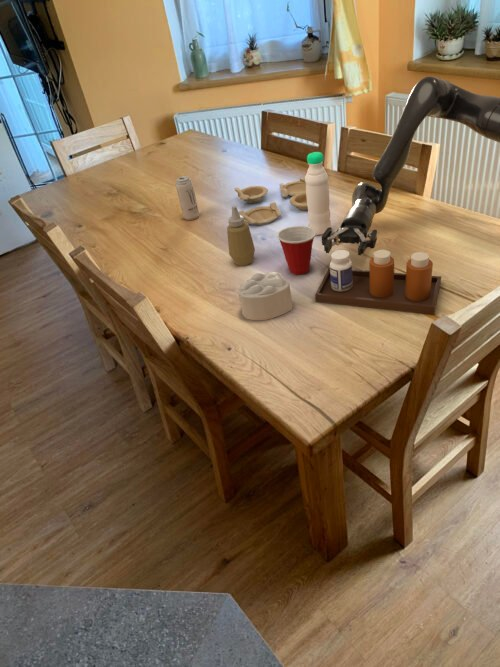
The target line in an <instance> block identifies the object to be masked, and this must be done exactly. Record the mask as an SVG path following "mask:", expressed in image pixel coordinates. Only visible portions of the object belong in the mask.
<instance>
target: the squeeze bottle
mask: <svg viewBox="0 0 500 667" xmlns="http://www.w3.org/2000/svg"><path fill="white" fill-rule="evenodd" d="M226 232H227V233H226V234H227V242H228V243H227V244H228V254H229V256H230V258H231V260H232V261H233V263H234V265H237V266H247V265H249V264H251V263H252V262H253V261H254V257H255V251H256V247H255V244H254V241H253V237H252V233H251V229H250V225H249V224H248V223H246V222H245V221H244V217H243V216H241V215H239V211H238V208H237V206H236V205H233V206H231V216H230V217H229V218H228V225H227V226H226Z"/></svg>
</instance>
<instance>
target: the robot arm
mask: <svg viewBox="0 0 500 667" xmlns="http://www.w3.org/2000/svg"><path fill="white" fill-rule="evenodd" d="M426 117H430V118H434V119H435V118H437V119H443V120H447V121H451V122H456V123H459V124H462V125H464V126H466V127H467V128H469V129H470V130H471V131H473V132H475V133H476V134H478V135H480V136H481V137H484V138H486V139H489V140H491V141H494V142H497V143H499V144H500V96H495V95H486V94H477V93H474V92H472V91H469V90H466V89H464V88H462V87H460V86H458V85H456V84H454V83H453V82H451V81H448V80H447V79H443V78H439V77H437V76H432V75H431V76H429V75H428V76H425V77H422V78H421V79H419V80H418V82H417V83H416V84H415V85H414V86H413V88H412V90H411V92H410V94H409V96H408V99H407V101H406V103H405V105H404V108H403V111H402V113H401V115H400V118H399V120H398V122H397V125H396V127H395V130H394V131H393V134H392V136H391V138H390V140H389V142H388V143H387V146H386V148H385V150H384V151H383V153H382V155H381V156H380V157H379V159H378V161H377V163H376V164H375V166H374V168H373V170H372V172H371V175H372V178H373V179H374V180H375V181H376V182H377V183H378V184H379V185H380V187H381V189H380V188H378V187H377V186H374V185H373V184H371V183H370V182H367V181H363V182H360V183H358V184H357V185H356V187H355V188H354V190H353V192H352V195H351V208H349V210H348V211H347V213H346V215H345V217H344V218H343V220H342V222H341V224H340V227H339V228H338V229H337V230H335V229H333V228H332V226H331V227H329V228H327V230H326V231H325V232H324V234H322V235H321V245H322V246H323V250H324V252H325V254H330V252H331V250H332V248H333V247H334V246H340V245H342V244H352V245H353V244H355V245H357V246H358V247H357V256H362V255H364V254H365V252H366V250H367V249H368V248H369V249H370V250H371V249H373V250H374V249H375V248H376V244H377V240H378V229H372V231H370V228H371V227H372V224H373V219H374V217H375V215H376V214H377V215H378V214H380V213H381V212H382V211H383V210H384V209H385V207H386V205H387V203H388V199H389V195H390V193H391V189H392V187H393V185H394V183H395V181H396V179H397V177H398V176H399V175H400V173H401V171H402V170H403V168H404V166H405V165H406V163H407V161H408V159H409V155H410V154H411V148H412V144H413V139H414V137H415V134H416V132H417V130H418V129H419V127H420V125H421V124H422V123H423V121H424V120H425V119H426ZM367 238H368V239H367Z"/></svg>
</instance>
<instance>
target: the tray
mask: <svg viewBox="0 0 500 667" xmlns="http://www.w3.org/2000/svg"><path fill="white" fill-rule="evenodd" d="M352 279H353V285H352V288H351V289H349V290H347V291H343V292H339V291H335V290H333V289H332V287H331V276H330V267H328V269H327V270H326V273H325V275H324V277H323V278H322V280H321V282H320V283H319V286H318V288H317V290H316V292H315V294H314V296H315V297H314V298H315V302H316V303H323V304H324V303H325V304H334V305H342V306H343V305H344V306H352V307H361V308H371V309H378V310H387V311H398V312H405V313H414V314H424V315H425V314H426V315H433V316H434V315H435V312H436V307H437V302H438V298H439V293H440V288H441V284H442V276H440V275H432V279H431V290H430V296H429V298H428V299H426V300H423V301H414V300H410V299H408V298H407V297H406V295H405V287H406V273H403V272H394V290H393V293H392V294H391V295H389V296H387V297H376V296H373V295H372V294H371V293H370V270H366V269H353V268H352Z"/></svg>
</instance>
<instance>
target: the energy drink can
mask: <svg viewBox="0 0 500 667" xmlns="http://www.w3.org/2000/svg"><path fill="white" fill-rule="evenodd" d="M175 180H176V182H175V188H176V193H177V196H178V200H179V204H180V208H181V214H182V216H183V218H184V219H185V221H194V220H197V219H198V218H199V215H200V210H199V206H198V202H197V196H196V193H195V189H194V184H193V181H192V179H191V178H190V176H189V175H182V176H179V177H177V178H176V179H175Z"/></svg>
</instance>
